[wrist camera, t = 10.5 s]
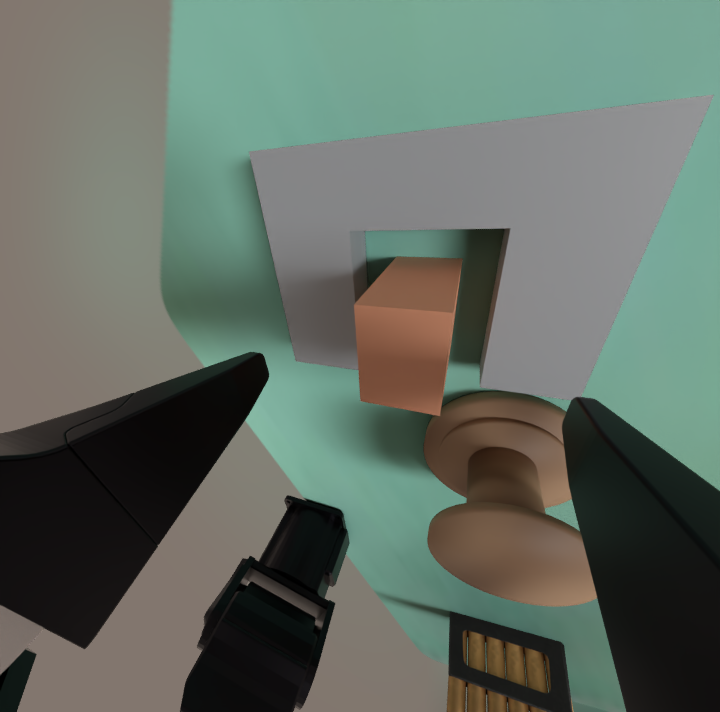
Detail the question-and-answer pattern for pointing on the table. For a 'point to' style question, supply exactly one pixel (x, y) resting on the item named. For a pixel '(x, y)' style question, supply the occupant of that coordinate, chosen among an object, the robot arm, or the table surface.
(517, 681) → the ammunition clip
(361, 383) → the tab
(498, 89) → the table surface
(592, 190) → the notched board
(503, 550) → the brown door knob
